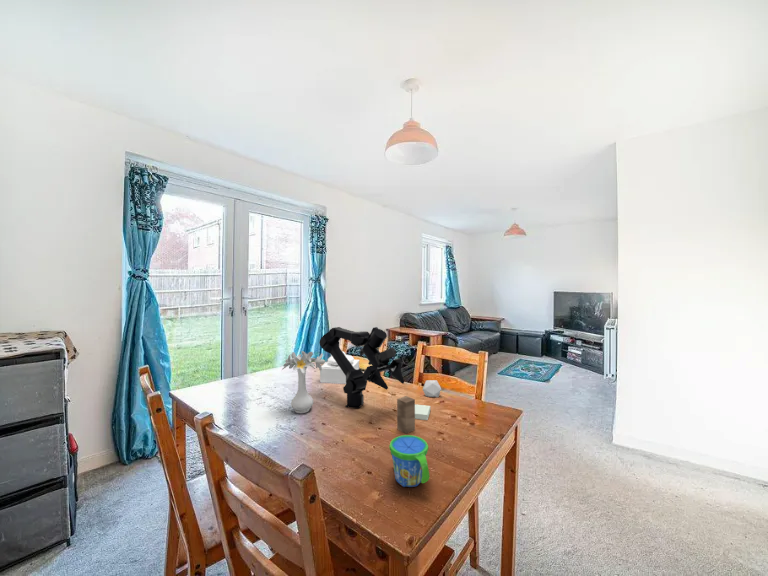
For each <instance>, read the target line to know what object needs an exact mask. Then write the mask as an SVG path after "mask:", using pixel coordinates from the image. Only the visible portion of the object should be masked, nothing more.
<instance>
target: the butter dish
mask: <svg viewBox="0 0 768 576" xmlns="http://www.w3.org/2000/svg"><path fill="white" fill-rule="evenodd" d="M341 351H342V352H343V353H344V355H345V356H346V358H347V359H348V360H349V362H350V363H351V365H352V366H353V367H354V369H356V370H358V369H360V359H355V358H354V356H352V355H350V354H346V352H345V351H344V350H341ZM321 367H322V370H321V371H320V370H319V383H320V384H334V385H335V384H336V385H346V376H345V374H344V373H343V371H342V370H341V368H340V367H339V365H338V364H337V362H336V361H335V360H334V358H333V357H332V355H331V356H329V357H328V358H327V361H325V363H324V364H321Z"/></svg>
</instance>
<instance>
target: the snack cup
mask: <svg viewBox="0 0 768 576" xmlns="http://www.w3.org/2000/svg"><path fill="white" fill-rule="evenodd" d="M388 446H389V451H390V455H391V458H392V465H393V471H394V472H393V473H394V477H395V481H396V482H397V483H398V484H399V485H401V486H402V487H403V488H405V487H408V488H413V487H417V486H419V485H420V484H425V483H428V481H429V480H430V477H431V476H430V470H429V464H428V460H427V454H428V450H429V445H428V443H427V440H425V439H424V438H422V437H420V436H416V435H412V434H403V435H399V436H397V437H394V438H392V439H391V441H390V443H389V445H388Z"/></svg>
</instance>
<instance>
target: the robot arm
mask: <svg viewBox="0 0 768 576" xmlns="http://www.w3.org/2000/svg"><path fill="white" fill-rule="evenodd" d="M387 337H388V335H387V333H386V331H385V330H383V329H381V328H378V327H377V326H375V327H372V330H371V332H368V331H354V330H350V329H346V328H343V327H340V326H337V327H336V326H335V327H331V328H330V329H329V330H328V331H327V332H326V333H324V334H323V335H322V336H321V337H320V339H319V343H318V344H319V346H320V348H321V349H322V350H323V351H325V352H326V353H328V354H330V355H331V356H332V357H333V358H334V360H335V361H336V362H337V364H338V365H339V367H340V368H341V370H342V371H343V373H344V374H345V376H346V384H344V386H343V387H342V388H343V393H344V394H346V405H345V407H346V408H352V409H360V408H361V407H362V406H363V405H364V403H365V402H364V400H365V399H364V398H365V396H364V394H363V392H364V391H366V388H367V385H368V382H369V383H373V384H375V385H377V386H379V387H381V388H383V389H384V390H388V389H389V386H388V384H387V383H386V382H385V380H384V378H383V377H382V375H381V373H383V372H386V371H389V372H390V373H391V375H392V376H393V377H394V378H395V379H396V380H397V381H398V382H400V383H401V384H405V379H404V377H403V372H402V366H403V364H405V363H404V361H403V360H402V358H395V357H396V355H397V351H396V349H395V348H394V347H390V348H388V349H386V350H384V351H380V350H379V348H381V347H382V346H383V343H384V342H385V340H386V339H387ZM341 339H342V340H346V341H348V342H350V344H351V345H353V346H355V347H356V348H357V347H362V348H360V352H359V355H360V356H364V355H365V357H366V358H367V360H368V362H367V363H368V366H366V368H365V370H364V371H363V370H362V369H361V368H359V369H358V370H356V369H354V367H353V366H352V365H351V363H350V362H349V360H348V359H347V358H346V356H345V355H344V353H343V352H344V351H343V350H342V349H341V348H340V341H341ZM342 351H343V352H342ZM393 358H395V359H393ZM391 359H392V360H391Z"/></svg>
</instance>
